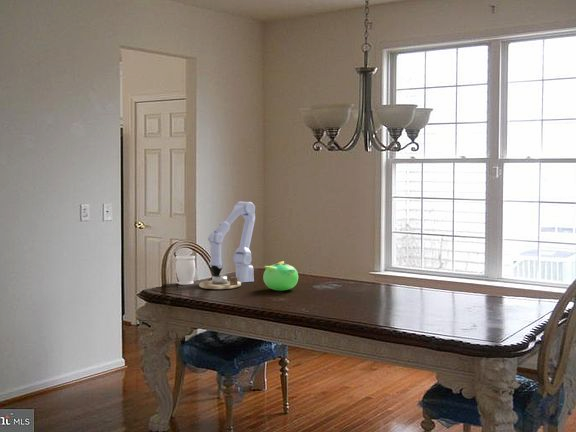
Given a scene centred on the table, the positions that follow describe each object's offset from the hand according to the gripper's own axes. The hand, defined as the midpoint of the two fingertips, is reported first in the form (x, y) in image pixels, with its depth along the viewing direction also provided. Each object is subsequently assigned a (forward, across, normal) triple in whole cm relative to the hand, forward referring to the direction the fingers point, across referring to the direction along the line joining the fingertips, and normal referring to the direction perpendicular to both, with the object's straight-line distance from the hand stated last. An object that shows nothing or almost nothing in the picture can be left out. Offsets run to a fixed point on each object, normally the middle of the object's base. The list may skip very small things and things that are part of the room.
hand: (216, 280), depth 386 cm
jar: (+3, -12, -13) cm, 18 cm away
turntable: (+3, +6, 0) cm, 6 cm away
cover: (+1, +5, 0) cm, 5 cm away
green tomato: (+3, +32, +23) cm, 39 cm away
